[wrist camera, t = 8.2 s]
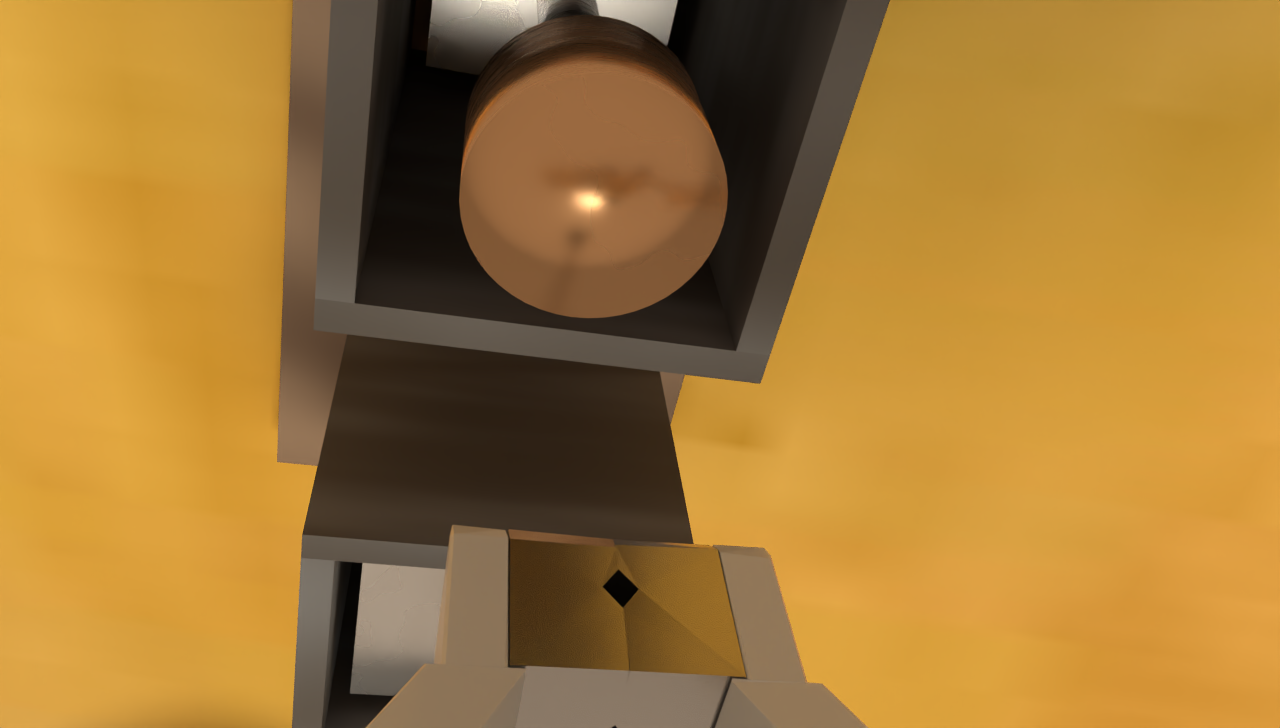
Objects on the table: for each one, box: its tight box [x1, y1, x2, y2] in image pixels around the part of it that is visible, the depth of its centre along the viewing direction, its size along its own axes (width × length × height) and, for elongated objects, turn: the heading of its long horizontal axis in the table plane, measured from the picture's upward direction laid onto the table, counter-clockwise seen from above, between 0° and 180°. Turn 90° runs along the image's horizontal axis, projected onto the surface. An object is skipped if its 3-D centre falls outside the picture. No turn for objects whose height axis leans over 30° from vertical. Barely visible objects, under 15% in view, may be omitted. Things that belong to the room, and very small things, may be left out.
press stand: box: [277, 0, 890, 728], centre depth 25 cm, size 22×12×14 cm, turn 168°
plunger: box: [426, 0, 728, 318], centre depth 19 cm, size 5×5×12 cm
